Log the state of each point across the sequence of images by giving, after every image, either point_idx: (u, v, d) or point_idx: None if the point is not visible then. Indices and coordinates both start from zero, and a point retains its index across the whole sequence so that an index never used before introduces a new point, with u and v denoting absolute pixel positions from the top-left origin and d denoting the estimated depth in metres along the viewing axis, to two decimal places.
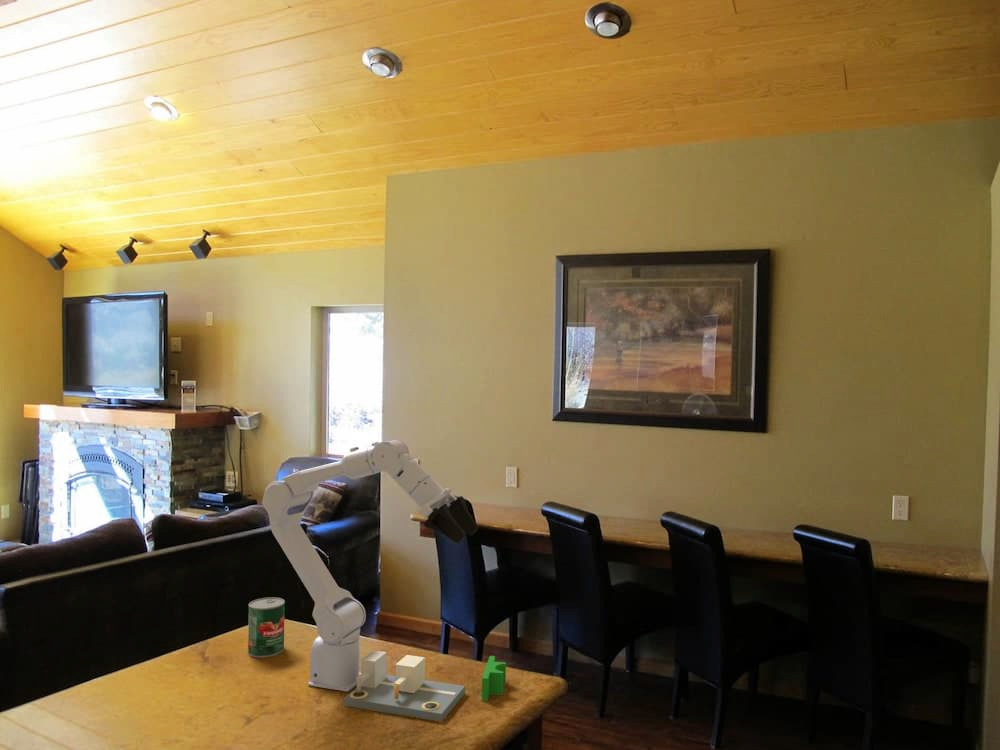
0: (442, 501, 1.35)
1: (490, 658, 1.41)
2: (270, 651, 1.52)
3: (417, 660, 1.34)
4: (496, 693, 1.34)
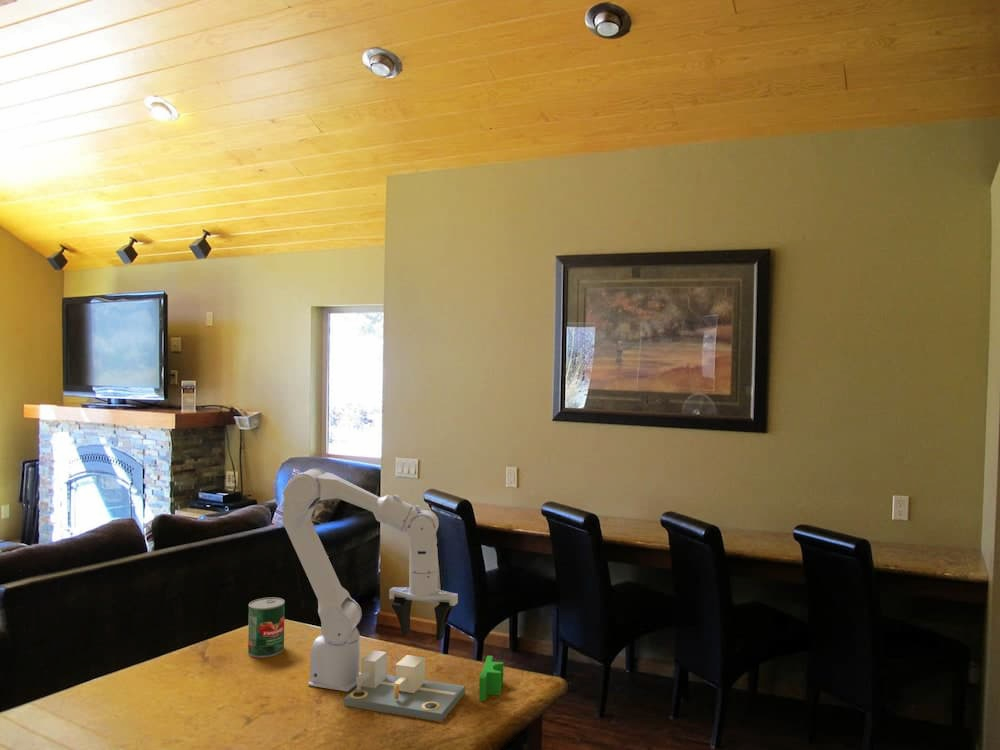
0: None
1: (488, 658, 1.41)
2: (270, 651, 1.52)
3: (417, 660, 1.34)
4: (493, 693, 1.34)
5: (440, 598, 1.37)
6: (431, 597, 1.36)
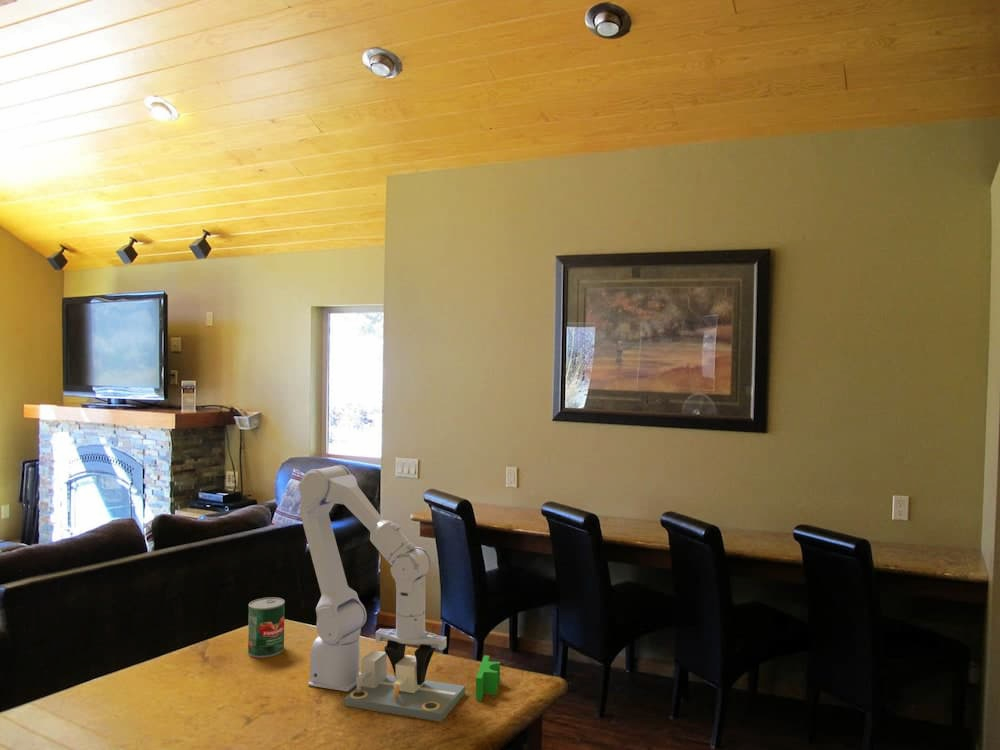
0: None
1: (484, 658, 1.41)
2: (270, 651, 1.52)
3: None
4: (490, 693, 1.34)
5: (428, 642, 1.31)
6: (418, 641, 1.31)
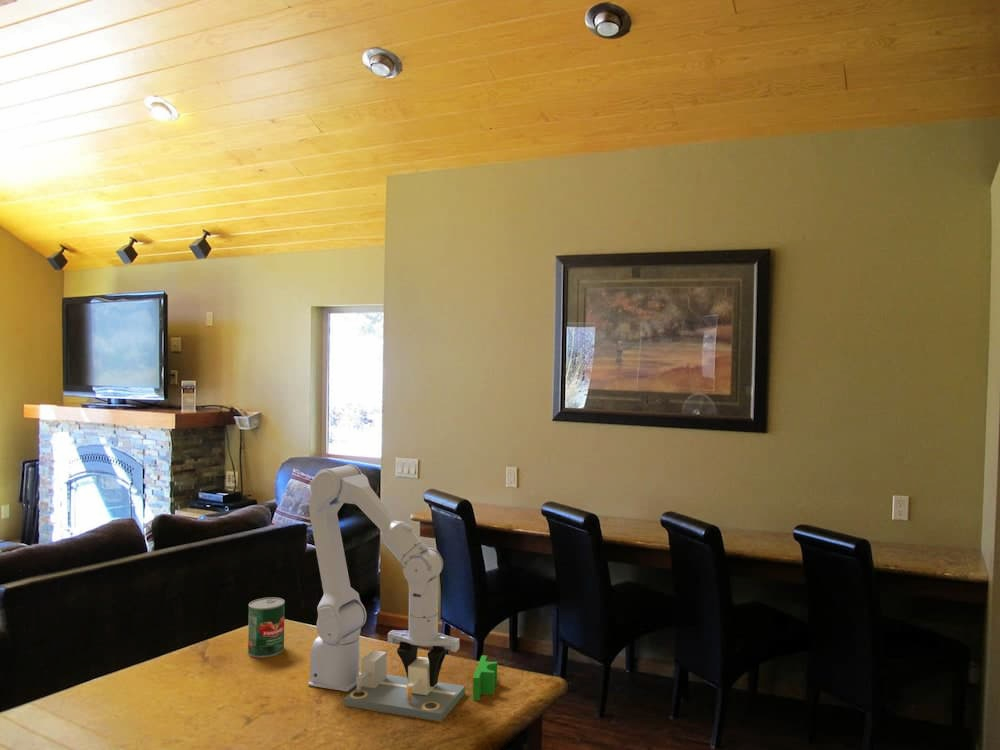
0: None
1: (482, 658, 1.41)
2: (270, 651, 1.52)
3: None
4: (487, 693, 1.34)
5: (441, 643, 1.30)
6: (431, 643, 1.30)
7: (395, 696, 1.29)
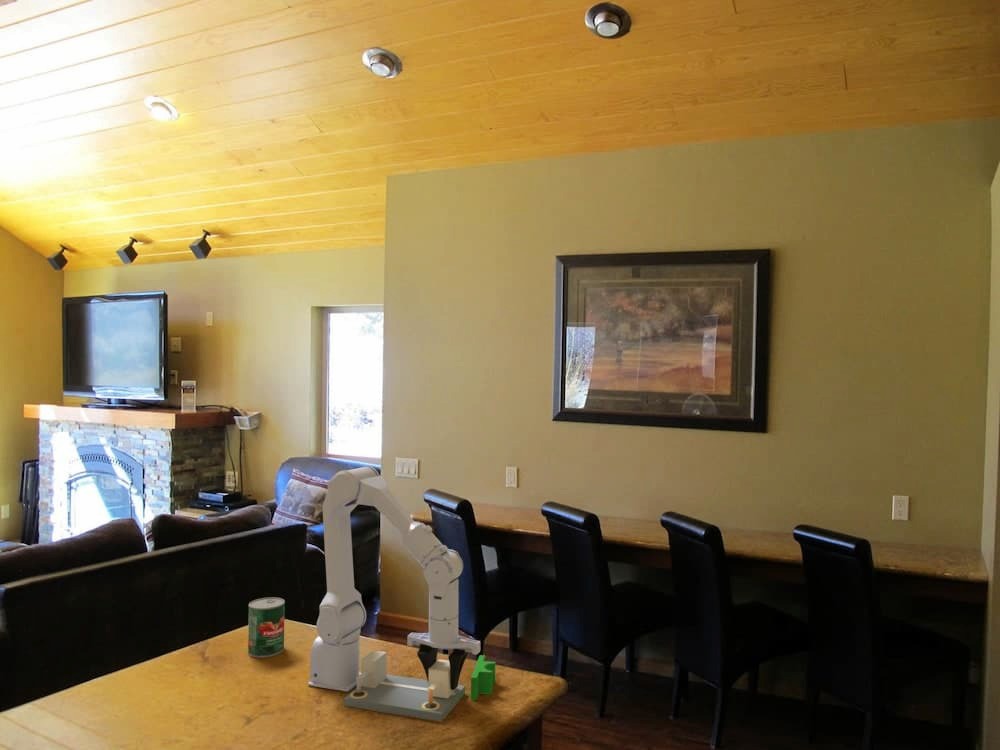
0: None
1: (480, 657, 1.41)
2: (270, 651, 1.52)
3: (449, 665, 1.31)
4: (485, 692, 1.34)
5: (462, 646, 1.29)
6: (452, 645, 1.29)
7: (395, 696, 1.29)
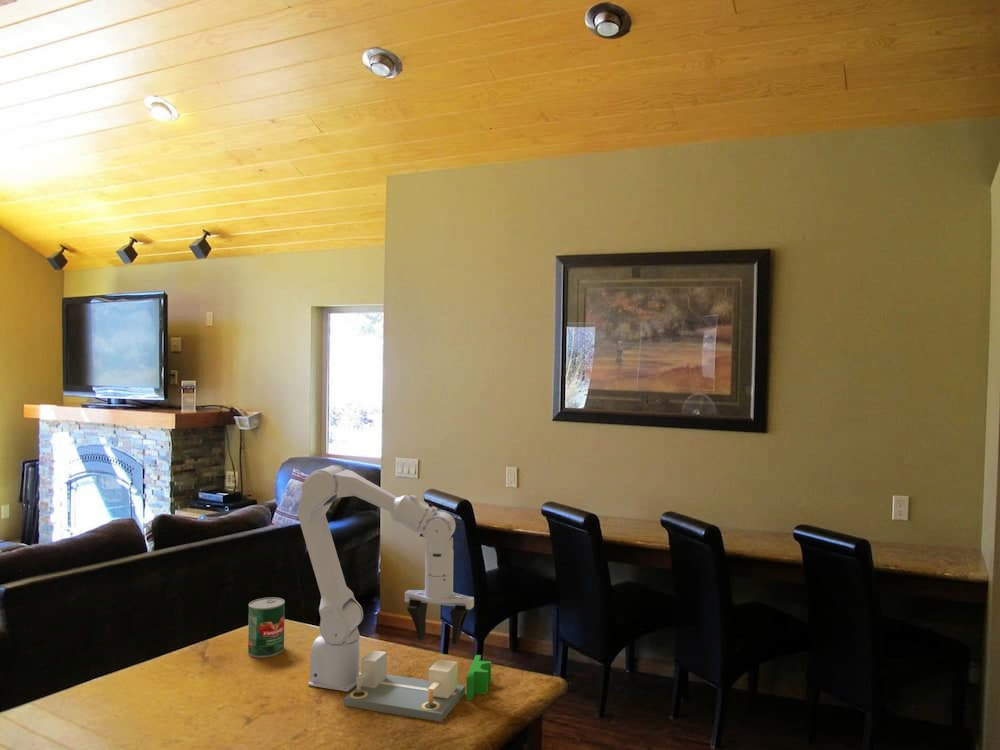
0: None
1: (476, 657, 1.41)
2: (270, 651, 1.52)
3: (449, 665, 1.31)
4: (481, 692, 1.34)
5: (456, 601, 1.35)
6: (447, 600, 1.35)
7: (395, 696, 1.29)
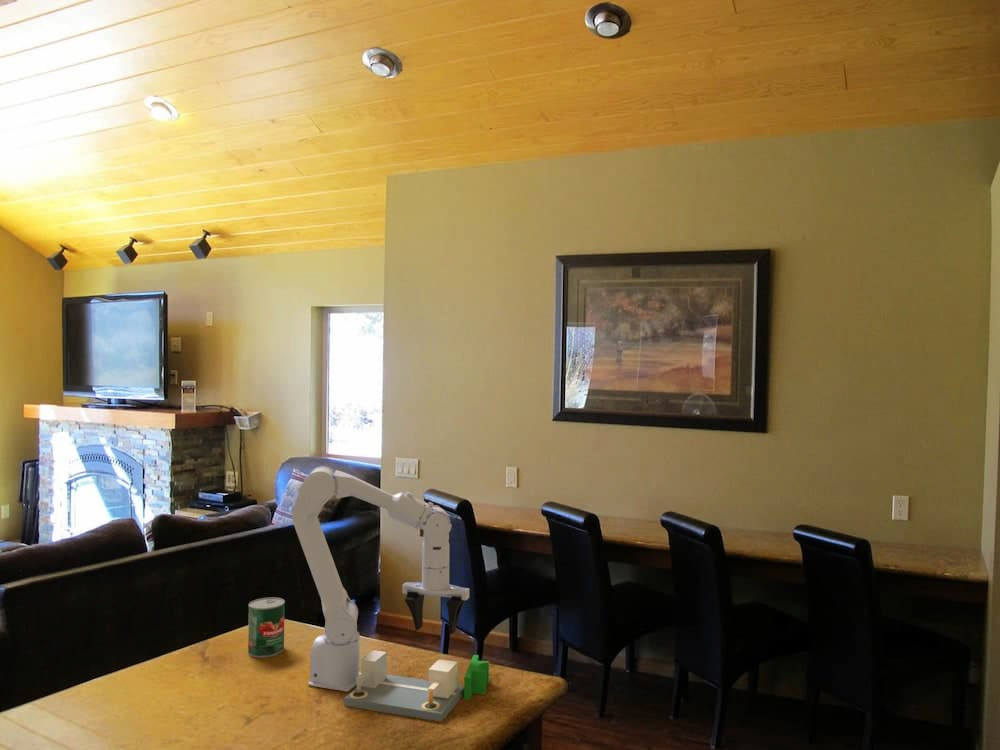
0: None
1: (473, 657, 1.41)
2: (270, 651, 1.52)
3: (449, 665, 1.31)
4: (479, 692, 1.34)
5: (452, 593, 1.40)
6: (443, 592, 1.40)
7: (395, 696, 1.29)
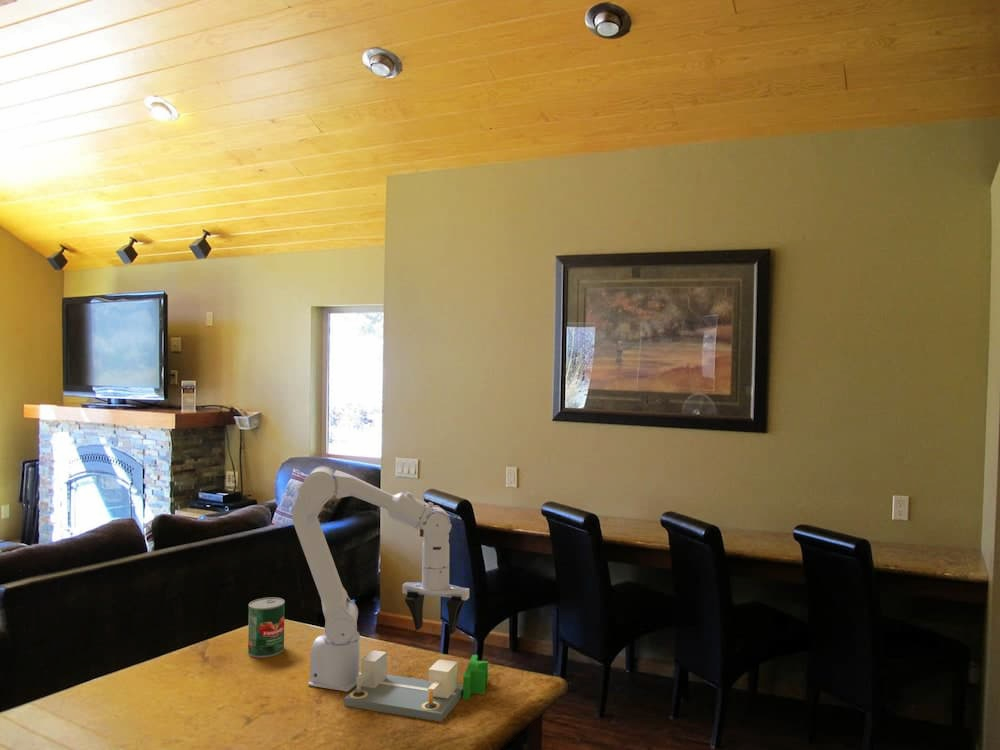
0: None
1: (473, 657, 1.41)
2: (270, 651, 1.52)
3: (449, 665, 1.31)
4: (478, 692, 1.34)
5: (452, 593, 1.40)
6: (443, 592, 1.40)
7: (395, 696, 1.29)
